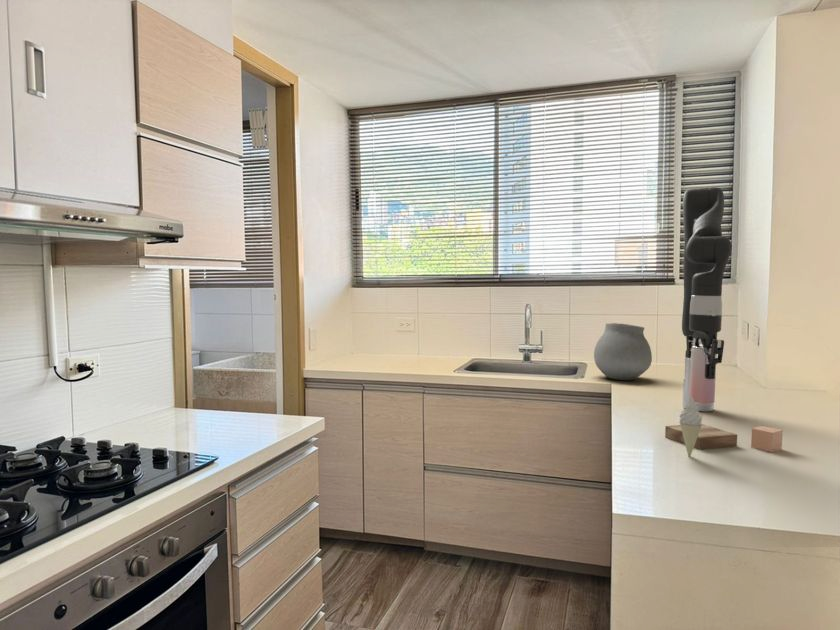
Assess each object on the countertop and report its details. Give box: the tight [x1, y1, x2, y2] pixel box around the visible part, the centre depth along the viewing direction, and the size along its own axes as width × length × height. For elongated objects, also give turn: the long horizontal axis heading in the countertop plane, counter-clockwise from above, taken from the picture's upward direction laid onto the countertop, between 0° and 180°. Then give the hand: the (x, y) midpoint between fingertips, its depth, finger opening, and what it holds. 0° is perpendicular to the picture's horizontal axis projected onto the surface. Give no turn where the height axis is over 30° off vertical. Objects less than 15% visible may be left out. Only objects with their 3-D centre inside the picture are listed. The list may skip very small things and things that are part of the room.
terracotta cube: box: [750, 425, 784, 453], centre depth 142 cm, size 5×5×5 cm
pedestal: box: [664, 423, 738, 450], centre depth 147 cm, size 12×12×3 cm
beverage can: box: [689, 346, 718, 405], centre depth 147 cm, size 6×6×15 cm
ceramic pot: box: [593, 322, 653, 381], centre depth 249 cm, size 24×24×25 cm
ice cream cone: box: [678, 395, 704, 458], centre depth 134 cm, size 5×5×15 cm
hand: (702, 376), depth 147 cm, fingers closed on beverage can, 6 cm apart
